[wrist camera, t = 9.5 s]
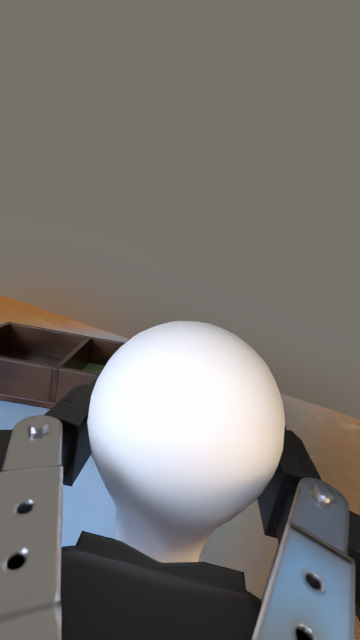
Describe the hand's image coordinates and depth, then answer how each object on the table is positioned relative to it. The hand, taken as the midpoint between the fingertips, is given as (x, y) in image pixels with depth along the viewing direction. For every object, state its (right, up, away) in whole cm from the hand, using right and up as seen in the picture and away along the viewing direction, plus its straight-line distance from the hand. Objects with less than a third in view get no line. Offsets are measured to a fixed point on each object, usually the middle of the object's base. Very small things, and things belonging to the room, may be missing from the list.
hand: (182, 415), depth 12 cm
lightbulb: (-2, -7, -1) cm, 7 cm away
